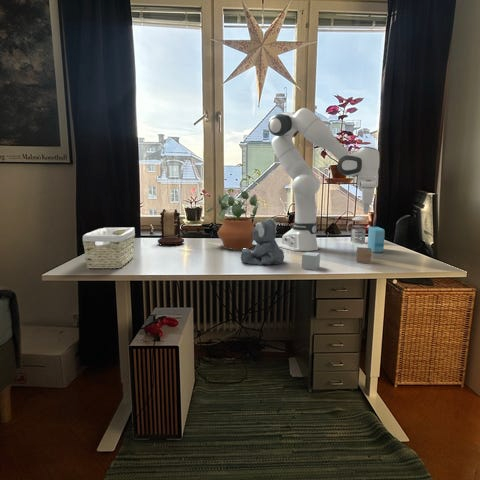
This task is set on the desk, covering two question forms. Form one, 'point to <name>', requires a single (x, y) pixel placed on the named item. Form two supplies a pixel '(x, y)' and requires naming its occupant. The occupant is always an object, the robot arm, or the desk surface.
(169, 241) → the scroll
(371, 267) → the desk surface
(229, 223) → the potted plant
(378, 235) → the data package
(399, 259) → the desk surface
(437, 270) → the desk surface
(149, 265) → the desk surface
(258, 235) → the koala plush
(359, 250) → the walnut cube
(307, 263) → the grey cube
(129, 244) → the storage basket
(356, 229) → the french press
